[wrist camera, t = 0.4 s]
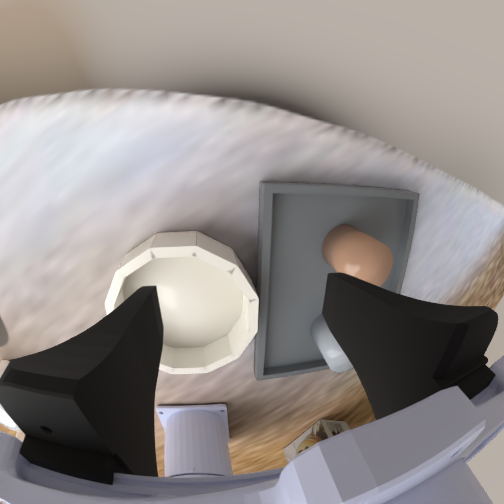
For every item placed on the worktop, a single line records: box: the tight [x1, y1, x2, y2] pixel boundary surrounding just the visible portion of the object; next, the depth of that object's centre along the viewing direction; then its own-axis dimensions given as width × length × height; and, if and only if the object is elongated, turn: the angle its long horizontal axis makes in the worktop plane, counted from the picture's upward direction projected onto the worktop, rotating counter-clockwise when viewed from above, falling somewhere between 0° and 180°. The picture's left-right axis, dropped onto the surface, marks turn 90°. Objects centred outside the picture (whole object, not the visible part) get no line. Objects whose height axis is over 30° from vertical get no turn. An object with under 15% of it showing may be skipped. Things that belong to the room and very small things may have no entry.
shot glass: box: [0, 360, 20, 431], centre depth 18 cm, size 7×7×7 cm
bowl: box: [105, 231, 259, 374], centre depth 20 cm, size 11×11×3 cm
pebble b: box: [322, 224, 393, 287], centre depth 20 cm, size 4×4×4 cm
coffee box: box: [283, 419, 350, 463], centre depth 26 cm, size 9×6×16 cm
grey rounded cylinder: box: [310, 314, 354, 372], centre depth 22 cm, size 4×4×4 cm
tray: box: [254, 182, 419, 380], centre depth 23 cm, size 18×14×2 cm
